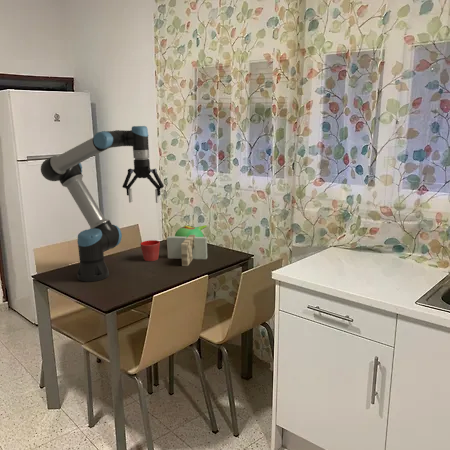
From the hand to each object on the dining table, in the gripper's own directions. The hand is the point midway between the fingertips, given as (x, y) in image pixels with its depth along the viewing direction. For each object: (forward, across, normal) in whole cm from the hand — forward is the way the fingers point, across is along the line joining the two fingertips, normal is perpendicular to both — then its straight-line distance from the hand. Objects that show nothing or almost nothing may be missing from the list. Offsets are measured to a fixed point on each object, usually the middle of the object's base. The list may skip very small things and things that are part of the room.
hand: (144, 202), depth 225 cm
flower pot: (+37, -6, +23) cm, 44 cm away
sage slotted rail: (+36, +14, +26) cm, 47 cm away
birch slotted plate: (+36, +16, +22) cm, 46 cm away
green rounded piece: (+37, +12, +46) cm, 60 cm away
